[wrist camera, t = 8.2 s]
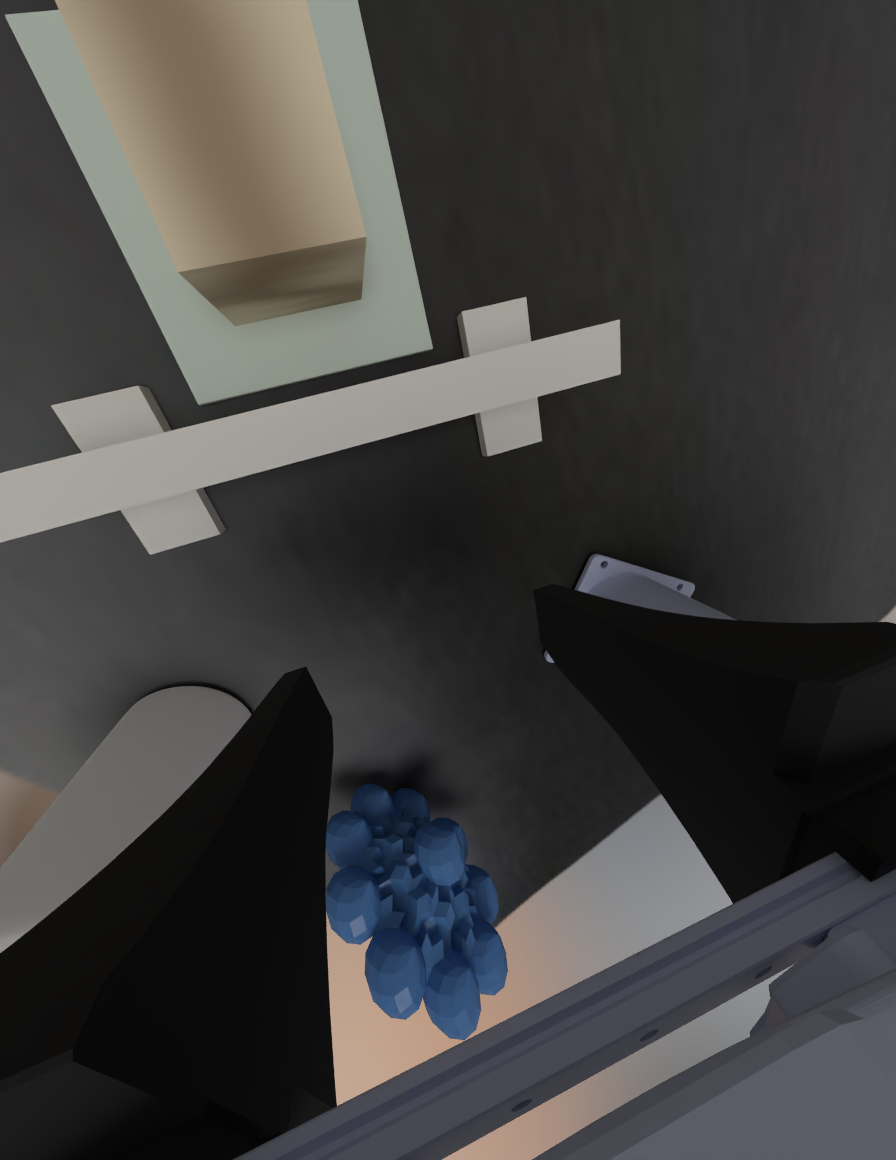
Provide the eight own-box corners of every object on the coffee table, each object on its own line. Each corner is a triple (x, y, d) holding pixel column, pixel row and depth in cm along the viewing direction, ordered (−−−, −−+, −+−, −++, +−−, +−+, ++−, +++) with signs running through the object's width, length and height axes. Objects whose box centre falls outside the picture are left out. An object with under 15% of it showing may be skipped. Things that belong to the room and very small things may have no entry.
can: (128, 773, 20) (-133, 1173, 9) (119, 678, 18) (-235, 1054, 7) (255, 766, 22) (164, 1088, 11) (260, 682, 20) (155, 976, 9)
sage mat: (353, -3, 11) (353, -17, 11) (430, 350, 16) (432, 348, 15) (16, 29, 10) (5, 15, 10) (202, 405, 14) (198, 404, 14)
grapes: (494, 765, 27) (586, 976, 17) (448, 824, 29) (506, 1055, 18) (360, 727, 23) (369, 989, 12) (312, 800, 24) (282, 1094, 13)
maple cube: (309, 113, 12) (284, -83, 7) (361, 299, 14) (366, 236, 10) (155, 134, 11) (24, -66, 7) (235, 326, 13) (178, 272, 9)
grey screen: (528, 300, 16) (618, 233, 11) (543, 437, 19) (621, 439, 13) (52, 410, 13) (-149, 394, 8) (147, 552, 16) (44, 613, 11)
